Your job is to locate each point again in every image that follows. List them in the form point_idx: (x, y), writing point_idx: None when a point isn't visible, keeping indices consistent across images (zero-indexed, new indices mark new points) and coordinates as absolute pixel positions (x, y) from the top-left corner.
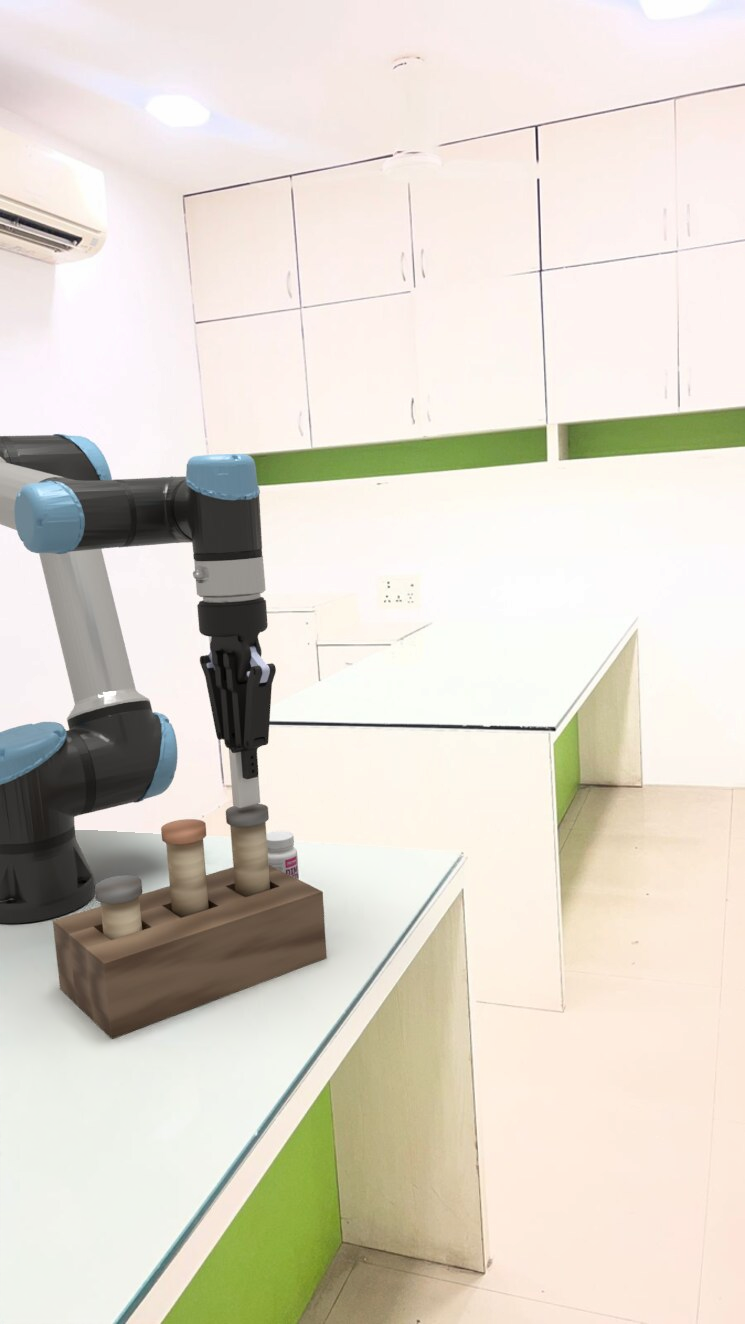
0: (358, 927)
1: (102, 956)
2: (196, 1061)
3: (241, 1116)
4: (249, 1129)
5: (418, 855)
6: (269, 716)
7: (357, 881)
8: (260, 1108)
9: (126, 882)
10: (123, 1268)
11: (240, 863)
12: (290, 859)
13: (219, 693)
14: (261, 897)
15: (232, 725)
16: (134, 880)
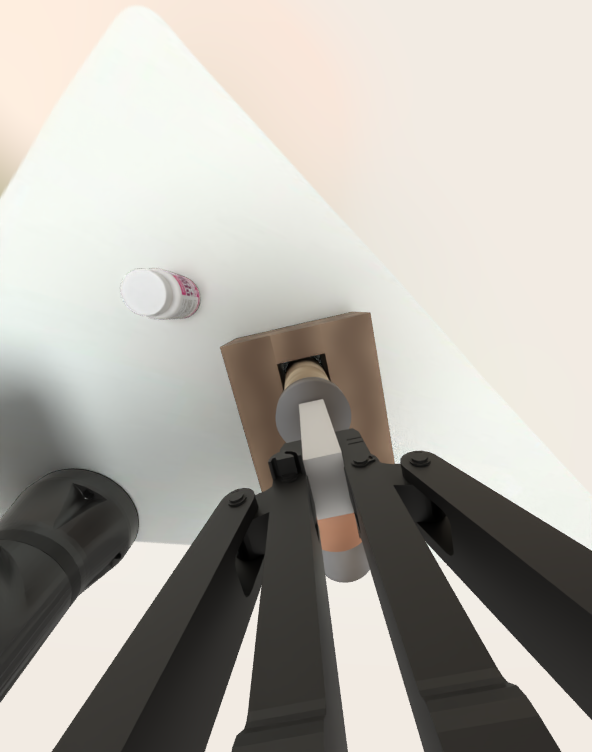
0: (303, 252)
1: None
2: (449, 457)
3: (528, 448)
4: (544, 448)
5: (117, 59)
6: (530, 514)
7: (175, 193)
8: (528, 436)
9: (346, 553)
10: None
11: None
12: (180, 286)
13: (188, 733)
14: (345, 383)
15: (322, 565)
16: None
